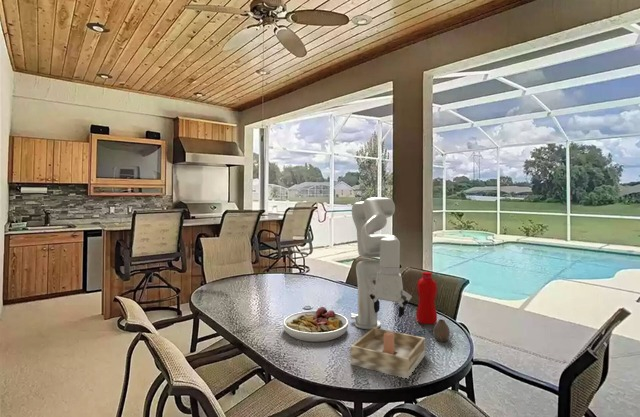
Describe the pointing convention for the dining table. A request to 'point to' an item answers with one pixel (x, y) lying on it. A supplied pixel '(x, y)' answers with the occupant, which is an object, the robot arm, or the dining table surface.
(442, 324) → the vase
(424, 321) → the water bottle
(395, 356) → the insert box
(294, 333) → the bowl
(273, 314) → the dining table surface
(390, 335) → the peg
